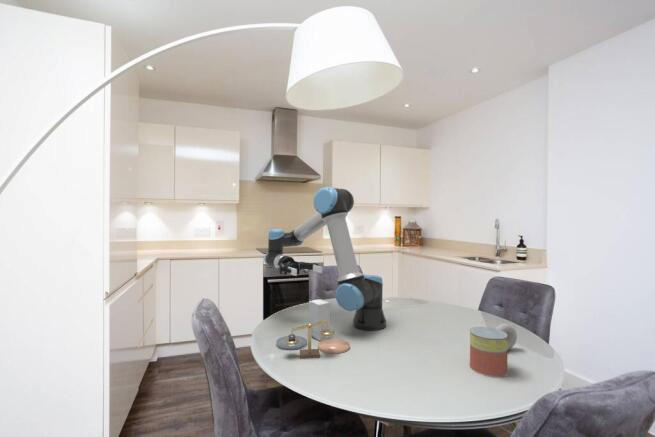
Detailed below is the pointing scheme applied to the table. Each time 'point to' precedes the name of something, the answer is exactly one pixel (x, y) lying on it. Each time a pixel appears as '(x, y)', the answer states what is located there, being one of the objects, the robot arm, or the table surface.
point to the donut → (511, 334)
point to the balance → (308, 352)
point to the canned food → (488, 351)
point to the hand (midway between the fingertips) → (309, 271)
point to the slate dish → (282, 345)
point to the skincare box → (319, 317)
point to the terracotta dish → (333, 346)
